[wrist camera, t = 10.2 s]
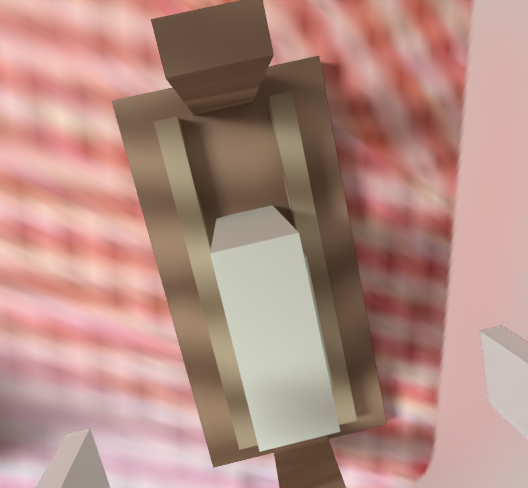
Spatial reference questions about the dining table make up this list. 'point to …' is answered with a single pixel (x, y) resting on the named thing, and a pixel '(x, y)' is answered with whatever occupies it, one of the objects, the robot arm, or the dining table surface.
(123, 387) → the dining table surface
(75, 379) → the dining table surface
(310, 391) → the cream rectangular block
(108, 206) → the dining table surface
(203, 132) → the wooden rack
